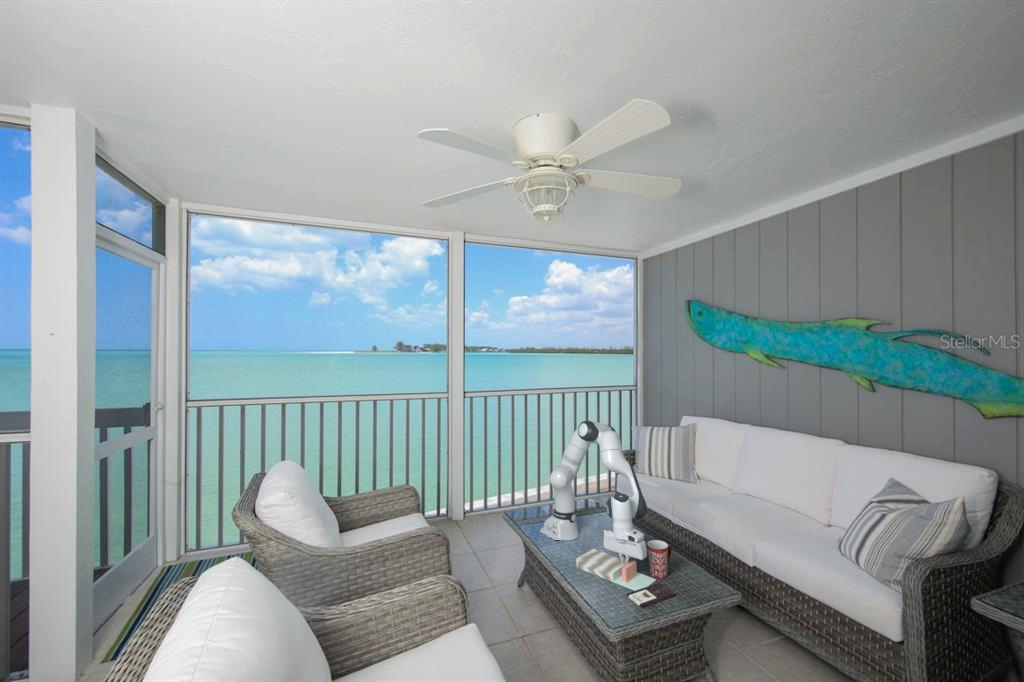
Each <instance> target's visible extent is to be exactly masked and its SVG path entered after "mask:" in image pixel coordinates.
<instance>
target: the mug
mask: <svg viewBox="0 0 1024 682" xmlns="http://www.w3.org/2000/svg"><path fill="white" fill-rule="evenodd" d="M646 547H647V556H648V562H649V573H650V575H651V576H652V578H653V577H654V578H657V579H664V578H667V577H668V565H669V562H670V559H671V557H672V556H671V555H672V552H673V551H672V546H671V545H670V544H668V543H667V542H665V541H663V540H659V539H658V540H657V539H652V540H648V541H647V542H646Z"/></svg>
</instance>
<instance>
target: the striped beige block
mask: <svg viewBox="0 0 1024 682" xmlns="http://www.w3.org/2000/svg"><path fill="white" fill-rule="evenodd" d="M575 561H576V565H575V566H576V569H579V570H583V571H584V572H587V573H590V574H592V575H595V576H597V577H599V578H602V579H605V580H607V581H610V582H611V581H615V580H616V579H618V578H619V577H620V576H622V567H624V566H625V565H626V564H622V560H621V558H620V557H617V556H615V555H613V554H610V553H606V552H604V551H601V550H599V549H595V548H592V549H591V550H589V551H587V552H585V553H584V554H582V555H580V556H579V557H576V558H575Z"/></svg>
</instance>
